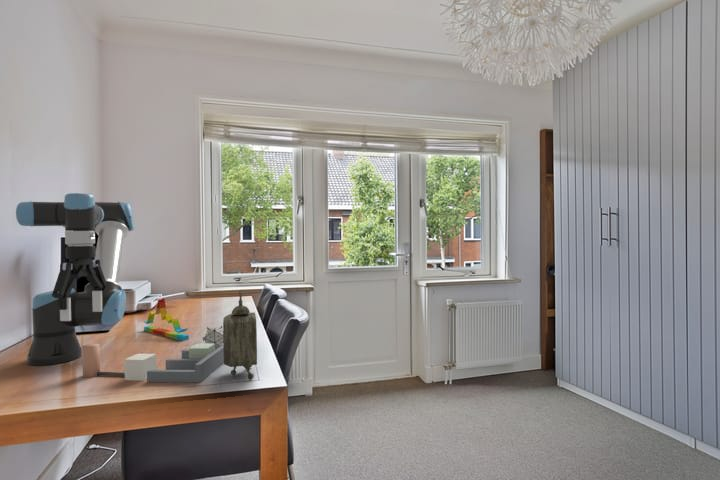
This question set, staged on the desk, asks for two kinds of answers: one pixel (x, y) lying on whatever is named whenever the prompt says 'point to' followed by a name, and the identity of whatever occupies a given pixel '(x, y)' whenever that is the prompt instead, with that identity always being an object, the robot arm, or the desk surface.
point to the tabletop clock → (240, 338)
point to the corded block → (133, 365)
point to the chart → (162, 309)
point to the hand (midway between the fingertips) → (82, 316)
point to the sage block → (201, 350)
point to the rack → (188, 368)
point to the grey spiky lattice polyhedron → (214, 336)
